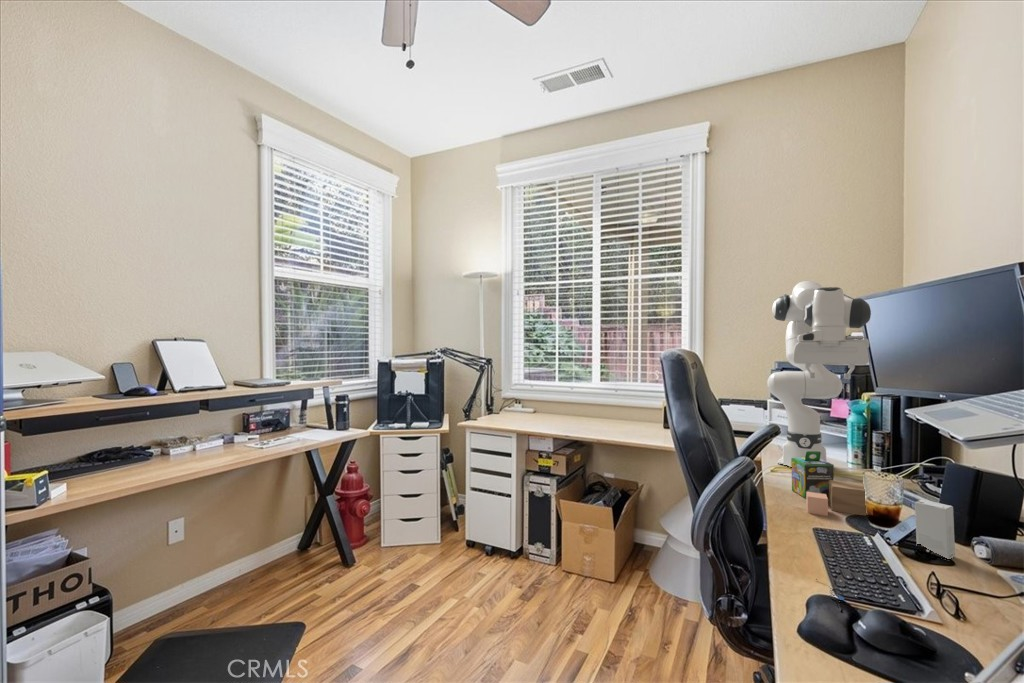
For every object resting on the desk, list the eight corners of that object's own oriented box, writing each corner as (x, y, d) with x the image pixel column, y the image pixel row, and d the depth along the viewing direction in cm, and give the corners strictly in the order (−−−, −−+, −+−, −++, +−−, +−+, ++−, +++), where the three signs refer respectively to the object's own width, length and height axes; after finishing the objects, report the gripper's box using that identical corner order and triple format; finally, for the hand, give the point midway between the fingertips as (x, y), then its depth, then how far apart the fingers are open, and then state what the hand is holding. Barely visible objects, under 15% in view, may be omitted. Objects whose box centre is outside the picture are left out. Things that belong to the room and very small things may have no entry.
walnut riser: (828, 502, 143) (828, 479, 143) (868, 508, 138) (868, 484, 138) (831, 510, 136) (831, 486, 136) (873, 516, 131) (873, 491, 131)
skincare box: (955, 557, 106) (955, 505, 107) (948, 561, 104) (947, 509, 104) (922, 546, 112) (922, 498, 112) (914, 551, 110) (914, 501, 110)
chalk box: (818, 490, 154) (818, 447, 154) (835, 500, 145) (835, 454, 145) (790, 490, 155) (790, 447, 155) (805, 499, 146) (804, 453, 146)
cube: (806, 507, 139) (806, 491, 139) (826, 510, 136) (826, 494, 136) (807, 513, 135) (807, 496, 135) (828, 516, 132) (827, 499, 132)
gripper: (866, 336, 145) (867, 379, 144) (792, 336, 155) (792, 377, 154) (871, 335, 139) (871, 379, 139) (793, 335, 149) (793, 377, 149)
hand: (829, 378), depth 147 cm, fingers open, 8 cm apart
